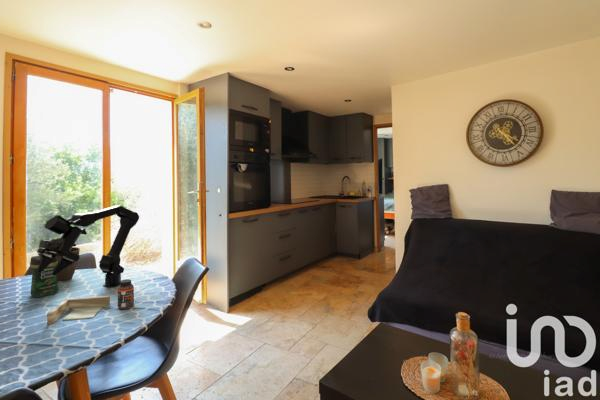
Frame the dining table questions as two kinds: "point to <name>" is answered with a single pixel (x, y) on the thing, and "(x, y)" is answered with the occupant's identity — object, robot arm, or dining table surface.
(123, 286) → the supplement bottle
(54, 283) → the coffee jar
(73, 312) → the arena
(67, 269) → the plant pot
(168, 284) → the dining table surface
